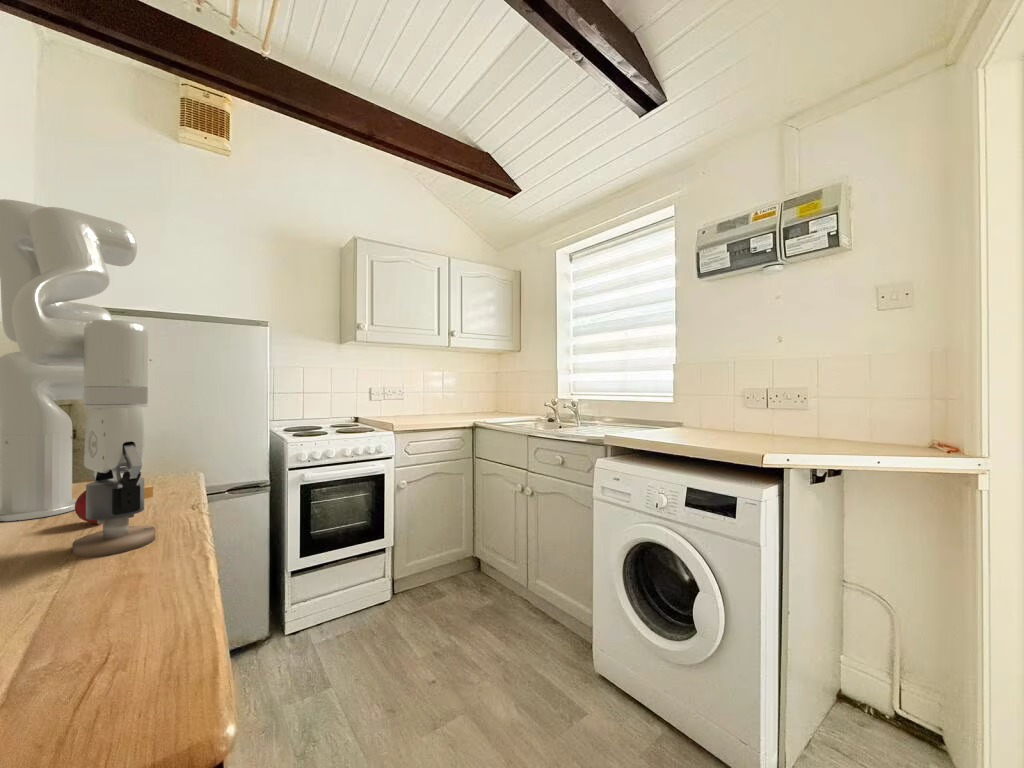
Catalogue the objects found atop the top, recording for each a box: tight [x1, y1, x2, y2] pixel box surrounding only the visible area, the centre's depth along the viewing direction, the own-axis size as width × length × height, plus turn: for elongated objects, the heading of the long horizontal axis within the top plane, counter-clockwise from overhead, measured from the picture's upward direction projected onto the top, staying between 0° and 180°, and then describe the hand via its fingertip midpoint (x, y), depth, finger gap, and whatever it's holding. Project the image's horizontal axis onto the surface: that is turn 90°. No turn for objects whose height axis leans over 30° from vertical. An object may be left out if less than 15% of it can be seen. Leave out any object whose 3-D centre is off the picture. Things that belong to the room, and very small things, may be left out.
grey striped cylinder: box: [85, 476, 154, 520], centre depth 68 cm, size 7×8×5 cm
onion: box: [74, 489, 99, 525], centre depth 78 cm, size 6×6×8 cm
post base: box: [72, 514, 156, 558], centre depth 68 cm, size 10×10×5 cm
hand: (116, 508), depth 68 cm, fingers open, 7 cm apart
